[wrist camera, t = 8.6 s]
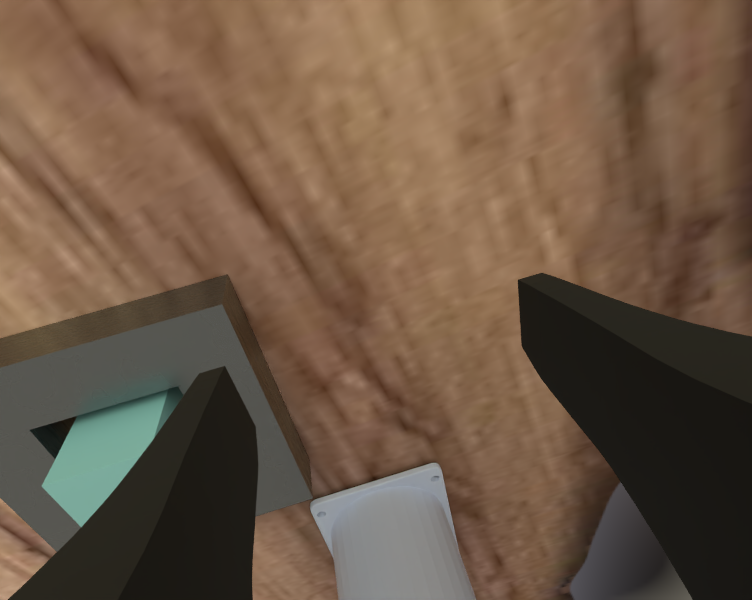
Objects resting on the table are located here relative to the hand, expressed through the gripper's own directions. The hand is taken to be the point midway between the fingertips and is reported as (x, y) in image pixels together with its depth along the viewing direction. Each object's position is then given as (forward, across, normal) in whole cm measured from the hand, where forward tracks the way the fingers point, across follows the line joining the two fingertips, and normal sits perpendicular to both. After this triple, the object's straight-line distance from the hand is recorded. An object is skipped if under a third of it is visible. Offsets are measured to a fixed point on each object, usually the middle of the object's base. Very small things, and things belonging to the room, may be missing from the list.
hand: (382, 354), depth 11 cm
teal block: (+10, +11, +7) cm, 16 cm away
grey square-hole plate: (+9, +11, +7) cm, 16 cm away
